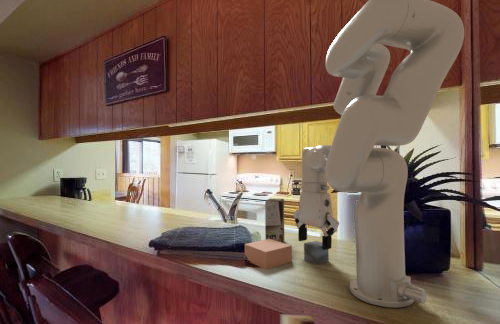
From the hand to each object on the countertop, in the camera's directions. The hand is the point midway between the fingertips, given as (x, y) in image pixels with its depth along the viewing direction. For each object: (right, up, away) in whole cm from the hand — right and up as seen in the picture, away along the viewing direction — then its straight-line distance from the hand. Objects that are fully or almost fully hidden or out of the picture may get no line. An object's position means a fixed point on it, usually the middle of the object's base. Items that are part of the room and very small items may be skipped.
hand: (314, 244), depth 81 cm
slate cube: (0, -5, -1) cm, 5 cm away
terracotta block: (-14, -5, -1) cm, 15 cm away
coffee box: (-10, -5, +18) cm, 22 cm away
